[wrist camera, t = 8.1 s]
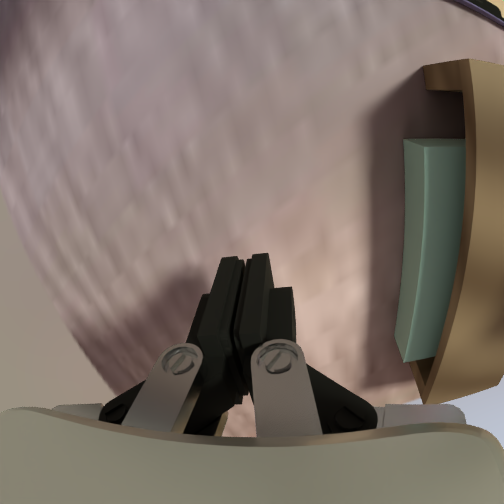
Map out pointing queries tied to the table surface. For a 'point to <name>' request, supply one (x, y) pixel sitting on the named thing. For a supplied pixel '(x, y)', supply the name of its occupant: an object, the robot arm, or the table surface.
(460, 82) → the walnut stand
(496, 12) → the smartphone
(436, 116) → the table surface
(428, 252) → the mint green tile
